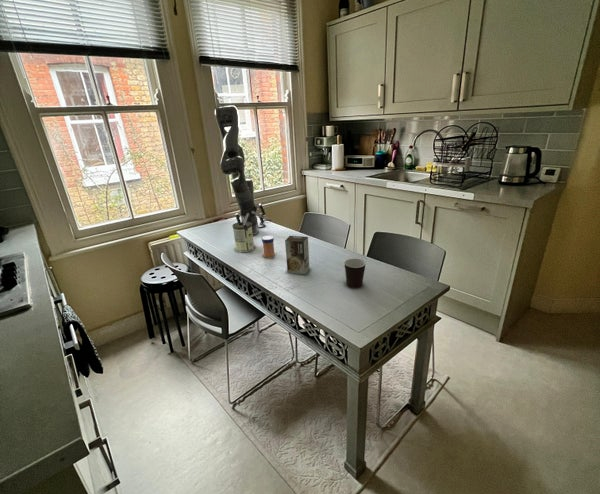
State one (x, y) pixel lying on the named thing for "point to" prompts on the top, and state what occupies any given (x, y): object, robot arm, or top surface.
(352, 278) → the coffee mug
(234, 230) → the coffee can
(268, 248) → the jar
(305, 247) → the coffee box
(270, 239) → the lid
